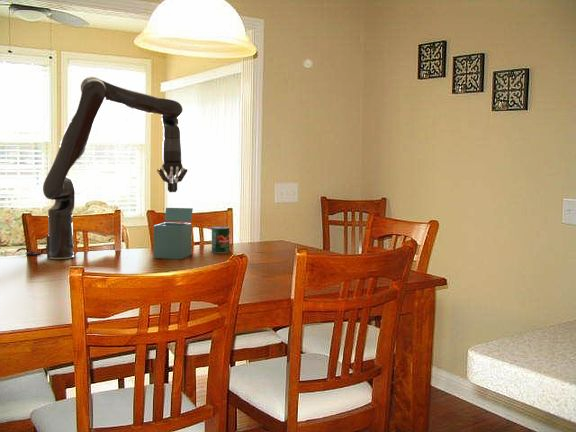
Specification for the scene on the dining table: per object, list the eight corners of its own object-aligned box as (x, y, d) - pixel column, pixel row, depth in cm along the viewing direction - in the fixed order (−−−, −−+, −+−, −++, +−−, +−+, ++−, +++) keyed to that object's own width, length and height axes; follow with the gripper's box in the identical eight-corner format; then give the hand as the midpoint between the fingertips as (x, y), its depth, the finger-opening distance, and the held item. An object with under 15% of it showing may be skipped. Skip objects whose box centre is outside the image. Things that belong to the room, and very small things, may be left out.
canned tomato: (223, 253, 261) (223, 228, 260) (208, 252, 264) (207, 227, 263) (232, 251, 268) (232, 226, 267) (217, 250, 271) (217, 225, 270)
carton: (154, 258, 248) (153, 225, 247) (164, 253, 260) (164, 222, 259) (181, 259, 246) (181, 226, 245) (191, 254, 258) (191, 223, 257)
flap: (166, 207, 260) (166, 207, 260) (164, 220, 258) (164, 221, 259) (192, 208, 258) (192, 208, 258) (191, 221, 256) (191, 221, 257)
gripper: (160, 149, 242) (160, 193, 243) (191, 150, 250) (191, 192, 251) (153, 149, 248) (153, 192, 250) (183, 150, 256) (183, 191, 257)
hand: (172, 192), depth 250 cm, fingers closed
